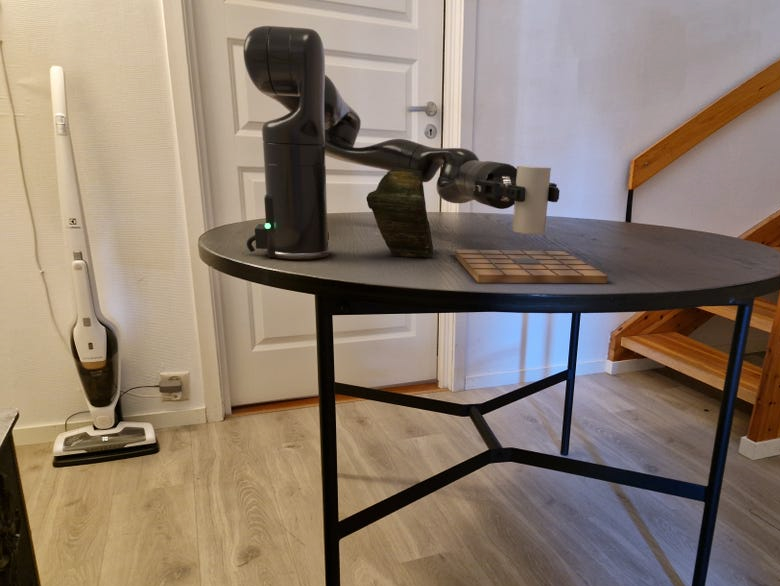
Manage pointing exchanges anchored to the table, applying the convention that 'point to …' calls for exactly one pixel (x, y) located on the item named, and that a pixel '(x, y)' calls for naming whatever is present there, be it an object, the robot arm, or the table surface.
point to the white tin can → (532, 199)
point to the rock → (402, 213)
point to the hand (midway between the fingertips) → (539, 194)
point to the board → (527, 267)
